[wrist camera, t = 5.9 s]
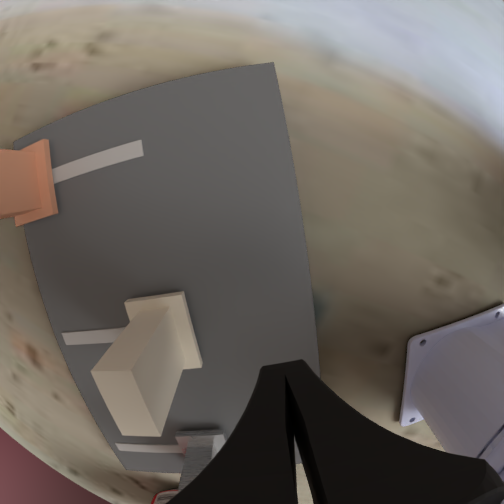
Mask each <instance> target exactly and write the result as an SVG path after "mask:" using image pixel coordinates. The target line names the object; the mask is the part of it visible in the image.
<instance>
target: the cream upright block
mask: <svg viewBox="0 0 504 504" xmlns="http://www.w3.org/2000/svg"><path fill="white" fill-rule="evenodd" d="M124 304H125V307H126V311H127V314H128V317H129V320H130V323H129V324H128V325H127V326H126V328H125V329H124V330H123V331H122V333H121V334H120V335H119V336H118V337H117V339H116V340H115V341H114V342H113V344H112V345H111V346H110V347H109V349H108V350H107V351H106V352H105V354H104V355H103V356H102V357H101V359H100V360H99V361H98V363H97V364H96V365H95V366H94V368H93V369H92V370H91V374H92V376H93V378H94V380H95V382H96V385H97V387H98V389H99V391H100V393H101V395H102V397H103V399H104V401H105V403H106V405H107V407H108V409H109V411H110V413H111V415H112V417H113V419H114V421H115V423H116V424H117V426H118V428H119V430H120V432H121V433H122V435H124V436H153V437H161V434H162V431H163V428H164V425H165V422H166V419H167V416H168V413H169V410H170V407H171V404H172V401H173V398H174V395H175V392H176V389H177V386H178V383H179V380H180V377H181V374H182V371H183V369H194V368H202V364H203V362H202V358H201V355H200V351H199V348H198V344H197V340H196V337H195V333H194V329H193V325H192V322H191V318H190V314H189V310H188V306H187V302H186V298H185V294H184V291H181V292H175V293H168V294H161V295H154V296H147V297H140V298H133V299H127V300H126V301H125V302H124Z"/></svg>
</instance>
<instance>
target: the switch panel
mask: <svg viewBox="0 0 504 504" xmlns="http://www.w3.org/2000/svg"><path fill="white" fill-rule="evenodd" d="M42 139H47V140H49V148H50V158H51V167H52V175H53V182H54V189H55V196H56V202H57V207H58V214H54V215H51V216H48V217H45V218H42V219H39V220H36V221H33V222H30V223H27V224H24V230H25V235H26V239H27V244H28V248H29V253H30V257H31V261H32V265H33V268H34V272H35V276H36V279H37V283H38V286H39V290H40V293H41V296H42V299H43V302H44V306H45V309H46V311H47V314H48V317H49V320H50V323H51V326H52V328H53V331H54V334H55V336H56V339H57V341H58V344H59V346H60V349H61V351H62V354H63V356H64V358H65V361H66V363H67V365H68V368H69V370H70V372H71V374H72V376H73V379H74V381H75V383H76V385H77V387H78V389H79V391H80V393H81V395H82V397H83V399H84V401H85V403H86V405H87V407H88V409H89V410H90V412H91V414H92V416H93V418H94V420H95V421H96V423H97V425H98V427H99V428H100V430H101V432H102V433H103V435H104V437H105V438H106V440H107V442H108V443H109V445H110V447H111V448H112V450H113V451H114V453H115V454H116V456H117V457H118V459H119V460H120V462H121V463H122V465H123V466H124V468H125V469H126V470H132V471H144V472H162V473H182V468H183V464H184V459H185V456H184V454H183V452H182V450H181V448H180V446H179V444H178V442H177V440H176V438H175V435H176V431H200V430H215V429H224V432H225V434H226V437H227V439H228V438H229V436H230V435H231V433H232V432H233V430H234V429H235V427H236V425H237V423H238V421H239V420H240V418H241V416H242V414H243V413H244V411H245V409H246V407H247V404H248V402H249V400H250V398H251V395H252V393H253V391H254V388H255V385H256V382H257V379H258V376H259V371H260V369H261V367H262V366H266V365H272V364H278V363H284V362H289V361H295V360H300V359H303V360H304V361H306V363H307V364H308V365H309V367H310V368H311V369H312V370H313V372H314V373H315V374H316V375H317V376H318V377H319V378H320V379H321V377H320V365H319V353H318V342H317V332H316V322H315V313H314V304H313V295H312V286H311V278H310V270H309V262H308V255H307V247H306V240H305V233H304V226H303V219H302V213H301V206H300V200H299V193H298V187H297V181H296V175H295V169H294V163H293V158H292V152H291V146H290V141H289V136H288V130H287V125H286V120H285V115H284V110H283V105H282V100H281V95H280V90H279V85H278V81H277V76H276V71H275V67H274V62H272V63H264V64H256V65H249V66H242V67H236V68H230V69H224V70H218V71H213V72H208V73H203V74H198V75H194V76H189V77H185V78H181V79H177V80H173V81H169V82H165V83H161V84H158V85H154V86H150V87H147V88H144V89H140V90H137V91H134V92H131V93H127V94H124V95H121V96H118V97H115V98H113V99H110V100H107V101H104V102H101V103H99V104H96V105H93V106H91V107H88V108H86V109H83V110H81V111H78V112H76V113H73V114H71V115H68V116H66V117H64V118H62V119H59V120H57V121H55V122H53V123H50V124H48V125H46V126H44V127H42V128H40V129H38V130H36V131H34V132H32V133H30V134H28V135H26V136H24V137H22V138H20V139H18V140H16V141H14V142H13V143H14V150H18V151H19V150H21V149H23V148H25V147H27V146H29V145H32V144H34V143H36V142H38V141H40V140H42ZM181 291H184V294H185V298H186V302H187V306H188V310H189V314H190V318H191V322H192V325H193V329H194V333H195V337H196V340H197V344H198V348H199V351H200V355H201V358H202V362H203V364H202V368H194V369H183V371H182V374H181V377H180V380H179V383H178V386H177V389H176V392H175V395H174V398H173V401H172V404H171V407H170V410H169V413H168V416H167V419H166V422H165V425H164V428H163V431H162V434H161V437H153V436H124V435H122V433H121V432H120V430H119V428H118V426H117V424H116V423H115V421H114V419H113V417H112V415H111V413H110V411H109V409H108V407H107V405H106V403H105V401H104V399H103V397H102V395H101V393H100V391H99V389H98V387H97V385H96V382H95V380H94V378H93V376H92V374H91V370H92V369H93V368H94V366H95V365H96V364H97V363H98V361H99V360H100V359H101V357H102V356H103V355H104V354H105V352H106V351H107V350H108V349H109V347H110V346H111V345H112V344H113V342H114V341H115V340H116V339H117V337H118V336H119V335H120V334H121V333H122V331H123V330H124V329H125V328H126V326H127V325H128V324H129V323H130V320H129V317H128V314H127V311H126V307H125V304H124V302H125V301H126V300H127V299H133V298H140V297H147V296H154V295H161V294H168V293H175V292H181ZM294 443H295V462H296V464H299V463H302V461H301V457H300V454H299V451H298V447H297V444H296V441H295V437H294Z"/></svg>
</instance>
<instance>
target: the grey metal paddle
mask: <svg viewBox="0 0 504 504" xmlns="http://www.w3.org/2000/svg"><path fill="white" fill-rule="evenodd" d="M175 438H176V440H177V442H178V444H179V446H180V448H181V450H182V452H183V454H184V456H185V459H184V464H183V468H182V473H181V478H180V483H179V488H178V493H179V492H180V491H181V490H182V489H183V488H185V487H186V486H187V485H188V484H189V483H190V482H191V481H192V480H194V479H195V478H196V477H197V476H198V475H199V473H200V472H201V471H202V470H203V469H204V468H205V467H206V466H207V465H208V464H209V462H210V461H211V460H212V459H213V458H214V457H215V455H216V454H217V453H218V452H219V450H220V449H221V448H222V446H223V445H224V444H225V442H226V441H227V437H226V434H225V432H224V429H215V430H200V431H176V435H175ZM178 493H177V494H178Z"/></svg>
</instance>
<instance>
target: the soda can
mask: <svg viewBox="0 0 504 504" xmlns="http://www.w3.org/2000/svg"><path fill="white" fill-rule="evenodd" d="M177 493H178V489H172V490H166V491H162V492H159V493H157V494H156V495H155V496H154V498H153V500H152V502H151V504H165V503H167V502H168V501H169V500H171V499H172V498H173V497H174V496H175V495H176V494H177Z"/></svg>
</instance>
